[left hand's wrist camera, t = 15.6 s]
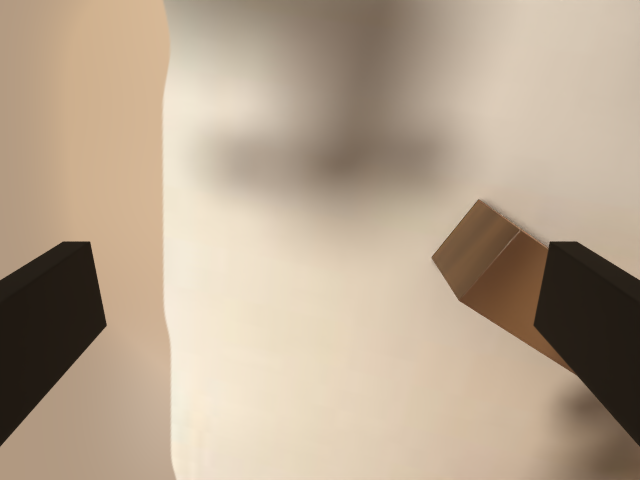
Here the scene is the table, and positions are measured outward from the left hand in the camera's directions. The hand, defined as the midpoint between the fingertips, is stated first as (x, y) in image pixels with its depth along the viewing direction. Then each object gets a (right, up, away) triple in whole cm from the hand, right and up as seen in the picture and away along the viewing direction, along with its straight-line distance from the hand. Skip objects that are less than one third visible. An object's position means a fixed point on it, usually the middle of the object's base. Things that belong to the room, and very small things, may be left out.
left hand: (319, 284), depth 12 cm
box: (+23, -4, +31) cm, 38 cm away
